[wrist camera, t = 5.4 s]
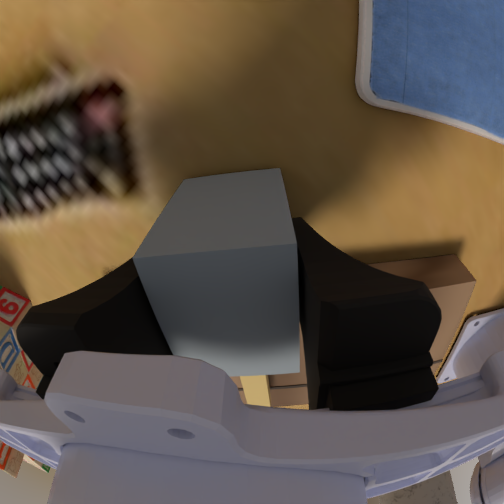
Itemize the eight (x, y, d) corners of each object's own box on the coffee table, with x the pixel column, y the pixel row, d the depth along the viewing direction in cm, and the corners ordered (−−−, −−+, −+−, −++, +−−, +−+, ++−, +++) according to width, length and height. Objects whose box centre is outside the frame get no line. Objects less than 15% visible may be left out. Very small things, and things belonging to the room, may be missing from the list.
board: (454, 254, 14) (477, 281, 12) (419, 355, 19) (430, 381, 17) (104, 285, 16) (87, 315, 13) (154, 377, 20) (147, 405, 18)
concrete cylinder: (365, 458, 32) (375, 531, 22) (376, 436, 27) (392, 527, 17) (425, 442, 31) (441, 510, 21) (447, 415, 26) (470, 497, 16)
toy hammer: (279, 168, 12) (296, 243, 7) (291, 357, 18) (298, 442, 13) (184, 179, 12) (132, 258, 7) (229, 361, 18) (222, 445, 13)
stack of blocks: (69, 414, 28) (43, 493, 17) (29, 394, 27) (-1, 469, 16) (31, 297, 17) (-48, 434, 6) (-22, 270, 16) (-101, 380, 6)
